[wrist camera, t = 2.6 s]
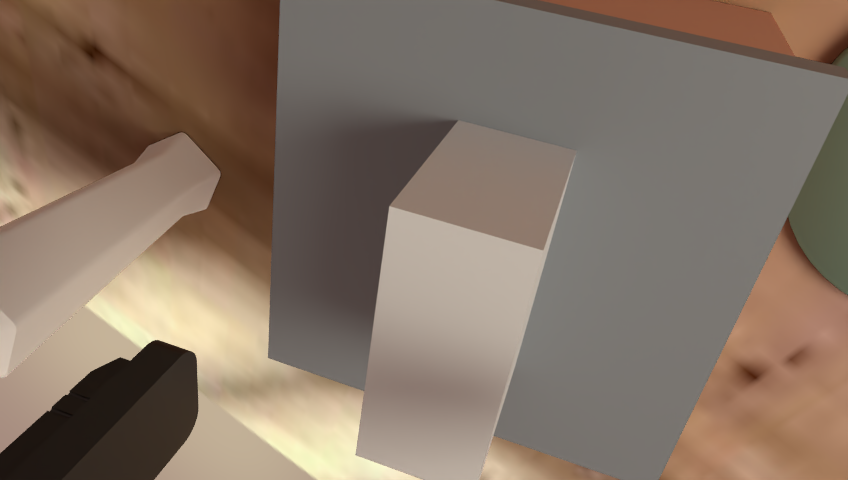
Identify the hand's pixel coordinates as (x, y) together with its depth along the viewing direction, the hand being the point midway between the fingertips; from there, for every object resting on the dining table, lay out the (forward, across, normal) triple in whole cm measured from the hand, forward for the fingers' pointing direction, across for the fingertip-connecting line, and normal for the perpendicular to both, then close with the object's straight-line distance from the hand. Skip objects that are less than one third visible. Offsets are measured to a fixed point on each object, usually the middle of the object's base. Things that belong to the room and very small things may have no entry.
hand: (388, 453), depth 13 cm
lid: (+9, 0, 0) cm, 9 cm away
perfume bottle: (+17, +16, +6) cm, 24 cm away
